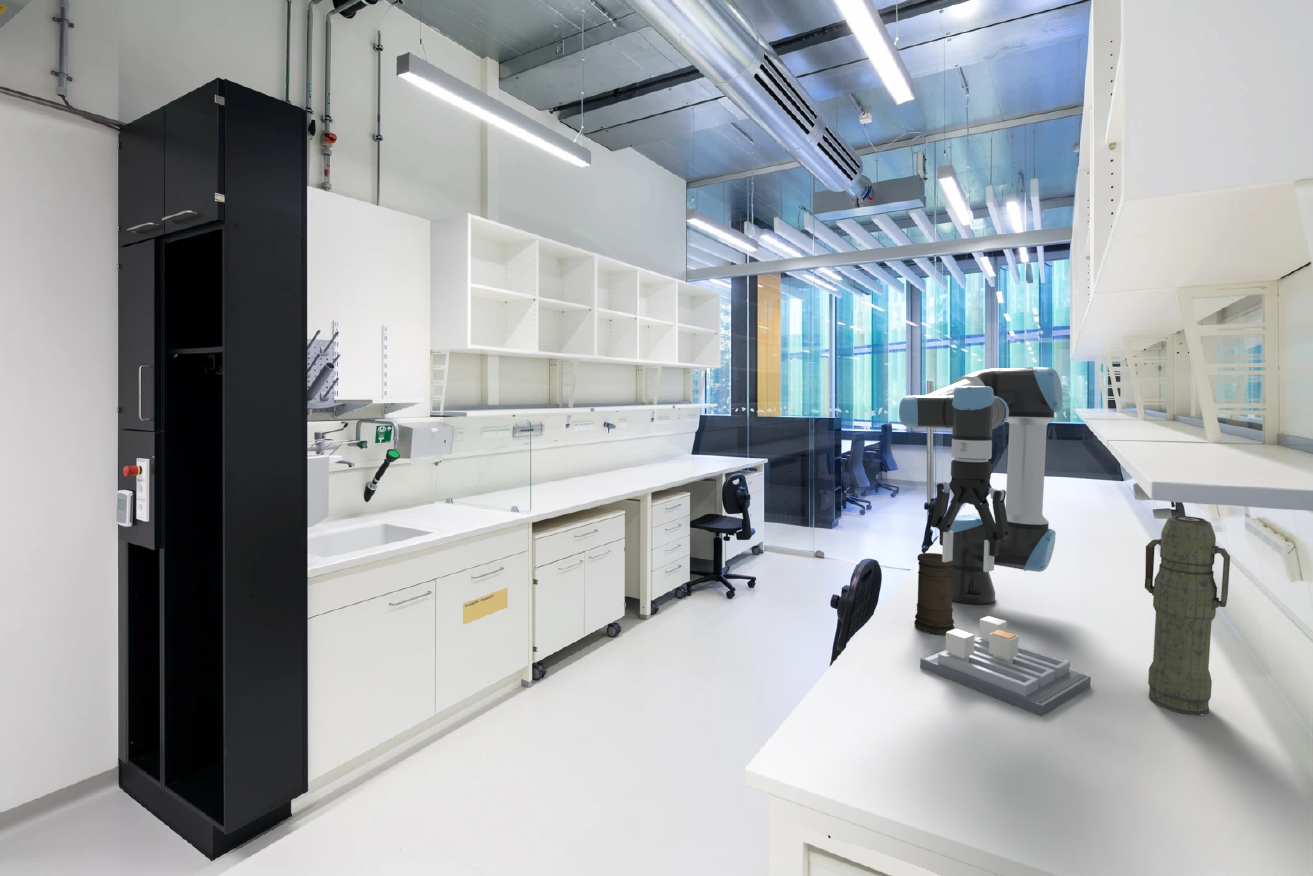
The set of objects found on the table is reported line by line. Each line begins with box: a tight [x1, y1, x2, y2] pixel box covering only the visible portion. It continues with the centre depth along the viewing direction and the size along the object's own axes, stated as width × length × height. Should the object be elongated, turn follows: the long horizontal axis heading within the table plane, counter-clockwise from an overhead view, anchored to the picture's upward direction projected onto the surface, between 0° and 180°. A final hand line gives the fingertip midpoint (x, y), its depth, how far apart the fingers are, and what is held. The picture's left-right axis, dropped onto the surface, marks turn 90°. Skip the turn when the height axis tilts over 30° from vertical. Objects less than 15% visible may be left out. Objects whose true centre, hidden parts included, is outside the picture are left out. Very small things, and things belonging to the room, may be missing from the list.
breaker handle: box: [989, 630, 1020, 664], centre depth 126 cm, size 4×4×7 cm
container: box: [913, 552, 956, 636], centre depth 152 cm, size 9×9×18 cm
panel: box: [919, 615, 1092, 717], centre depth 126 cm, size 20×24×9 cm
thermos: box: [1144, 515, 1231, 716], centre depth 115 cm, size 9×12×35 cm
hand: (967, 565), depth 132 cm, fingers open, 8 cm apart
